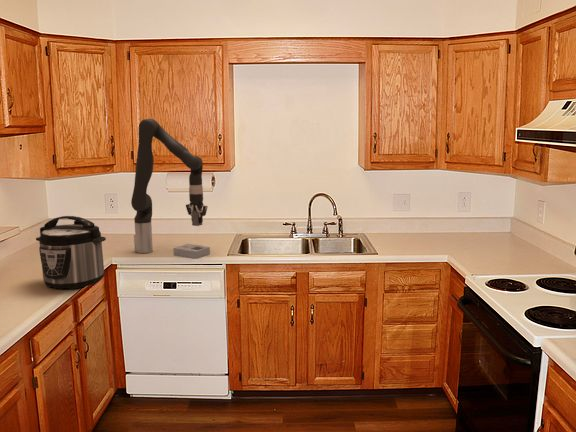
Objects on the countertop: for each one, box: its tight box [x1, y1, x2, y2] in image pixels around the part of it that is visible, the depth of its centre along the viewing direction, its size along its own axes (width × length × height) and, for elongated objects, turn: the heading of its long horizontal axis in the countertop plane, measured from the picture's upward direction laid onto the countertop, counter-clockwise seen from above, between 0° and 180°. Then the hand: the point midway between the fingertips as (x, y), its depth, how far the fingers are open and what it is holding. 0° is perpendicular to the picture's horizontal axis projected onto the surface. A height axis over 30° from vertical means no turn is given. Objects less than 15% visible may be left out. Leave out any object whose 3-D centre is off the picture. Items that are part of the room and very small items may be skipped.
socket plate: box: [173, 243, 211, 260], centre depth 315 cm, size 16×12×4 cm
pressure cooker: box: [35, 215, 107, 290], centre depth 263 cm, size 30×28×32 cm
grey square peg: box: [191, 211, 203, 227], centre depth 315 cm, size 4×4×8 cm
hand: (197, 222), depth 315 cm, fingers closed on grey square peg, 4 cm apart
